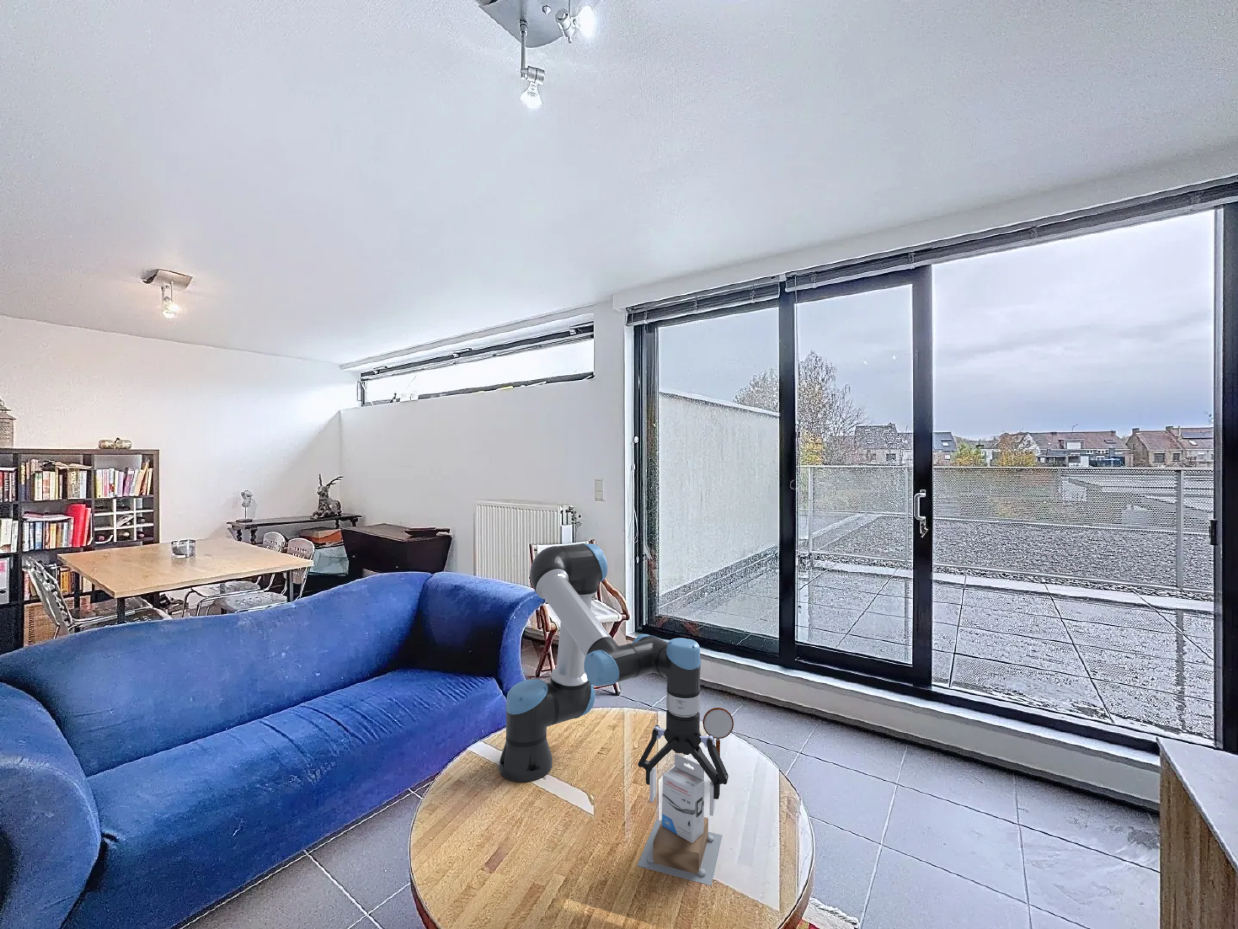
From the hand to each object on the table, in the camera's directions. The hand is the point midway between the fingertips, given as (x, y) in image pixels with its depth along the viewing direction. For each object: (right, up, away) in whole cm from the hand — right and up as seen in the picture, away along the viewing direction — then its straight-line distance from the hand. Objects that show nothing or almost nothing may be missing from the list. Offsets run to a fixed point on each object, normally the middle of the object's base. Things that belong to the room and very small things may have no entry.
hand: (681, 805), depth 119 cm
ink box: (0, -6, 0) cm, 6 cm away
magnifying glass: (+14, -12, +29) cm, 34 cm away
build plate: (0, -11, 0) cm, 11 cm away
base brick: (0, -10, 0) cm, 10 cm away
